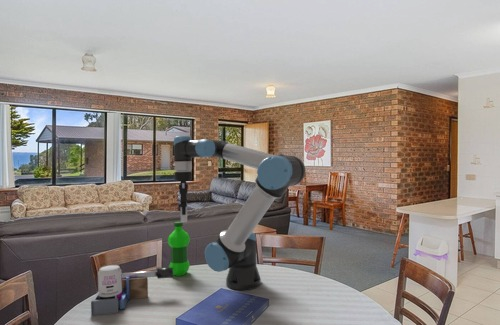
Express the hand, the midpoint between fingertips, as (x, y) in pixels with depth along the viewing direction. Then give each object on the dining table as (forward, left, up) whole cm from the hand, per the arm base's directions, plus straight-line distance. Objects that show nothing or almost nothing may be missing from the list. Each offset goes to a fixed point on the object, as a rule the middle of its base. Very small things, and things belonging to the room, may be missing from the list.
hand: (184, 219), depth 151 cm
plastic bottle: (+3, -15, -29) cm, 33 cm away
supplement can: (+28, +17, -29) cm, 44 cm away
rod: (+16, +15, -28) cm, 36 cm away
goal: (+29, +17, -29) cm, 44 cm away
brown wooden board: (+22, +10, -29) cm, 38 cm away
